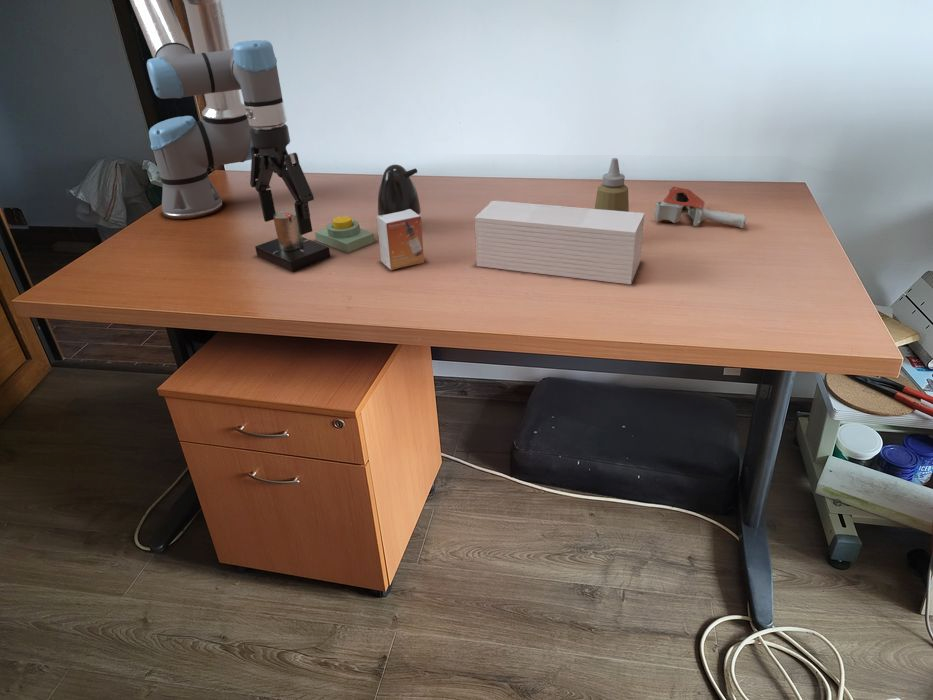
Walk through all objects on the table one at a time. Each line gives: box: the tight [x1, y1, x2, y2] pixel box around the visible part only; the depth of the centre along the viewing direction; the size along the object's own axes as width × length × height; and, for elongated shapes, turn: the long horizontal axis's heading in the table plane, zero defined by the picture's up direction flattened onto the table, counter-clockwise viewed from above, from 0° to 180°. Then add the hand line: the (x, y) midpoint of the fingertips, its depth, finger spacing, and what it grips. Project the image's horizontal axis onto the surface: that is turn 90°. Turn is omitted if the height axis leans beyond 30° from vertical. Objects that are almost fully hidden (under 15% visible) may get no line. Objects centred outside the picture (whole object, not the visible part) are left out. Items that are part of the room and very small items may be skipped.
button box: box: [314, 219, 376, 254], centre depth 155 cm, size 12×8×4 cm, turn 47°
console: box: [254, 236, 331, 273], centre depth 149 cm, size 14×10×3 cm
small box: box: [376, 209, 425, 271], centre depth 141 cm, size 8×6×10 cm
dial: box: [273, 209, 303, 251], centre depth 146 cm, size 5×5×8 cm
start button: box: [332, 215, 353, 229], centre depth 154 cm, size 4×4×2 cm
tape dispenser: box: [654, 186, 747, 229], centre depth 156 cm, size 18×5×20 cm
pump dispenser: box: [377, 164, 422, 216], centre depth 158 cm, size 10×10×15 cm
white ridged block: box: [474, 200, 645, 285], centre depth 137 cm, size 32×11×11 cm, turn 69°
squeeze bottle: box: [594, 157, 630, 212], centre depth 145 cm, size 8×8×18 cm
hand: (287, 226), depth 145 cm, fingers open, 13 cm apart
